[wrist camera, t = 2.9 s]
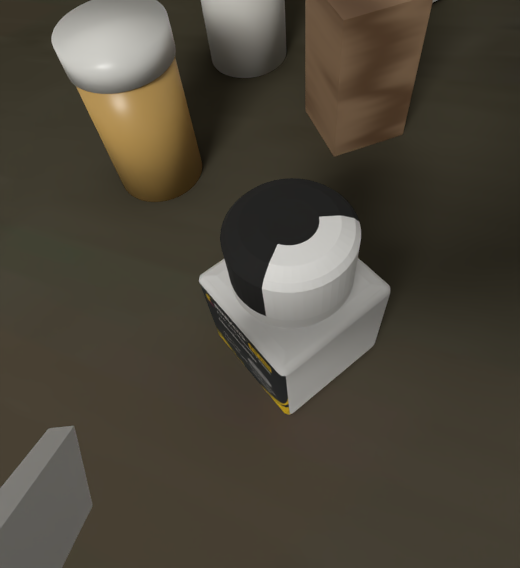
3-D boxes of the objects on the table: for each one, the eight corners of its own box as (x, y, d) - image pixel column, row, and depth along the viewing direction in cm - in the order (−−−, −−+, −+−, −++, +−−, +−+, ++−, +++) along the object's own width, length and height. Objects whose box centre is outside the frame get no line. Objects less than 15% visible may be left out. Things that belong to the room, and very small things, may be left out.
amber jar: (204, 135, 40) (169, -13, 30) (205, 198, 37) (166, 55, 26) (122, 145, 40) (60, 1, 30) (116, 208, 37) (42, 70, 27)
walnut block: (369, 90, 41) (388, -50, 32) (402, 134, 38) (434, -6, 29) (305, 110, 41) (305, -27, 31) (334, 156, 38) (343, 20, 28)
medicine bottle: (216, 333, 31) (172, 216, 20) (300, 271, 33) (298, 135, 22) (288, 418, 28) (277, 330, 17) (376, 344, 29) (414, 225, 19)
